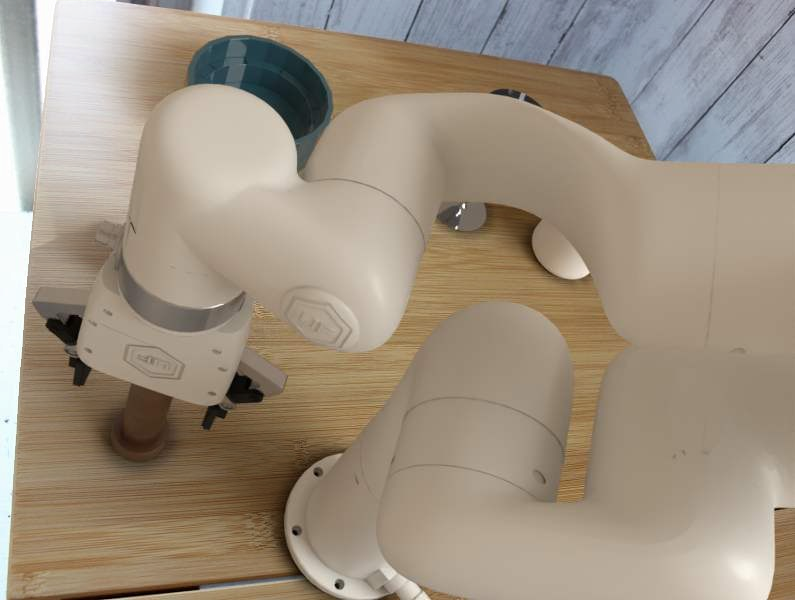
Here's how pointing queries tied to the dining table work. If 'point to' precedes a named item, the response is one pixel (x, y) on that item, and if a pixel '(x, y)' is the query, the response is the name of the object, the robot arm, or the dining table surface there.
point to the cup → (557, 253)
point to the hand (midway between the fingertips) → (149, 391)
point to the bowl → (270, 83)
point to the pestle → (141, 425)
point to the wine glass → (473, 213)
